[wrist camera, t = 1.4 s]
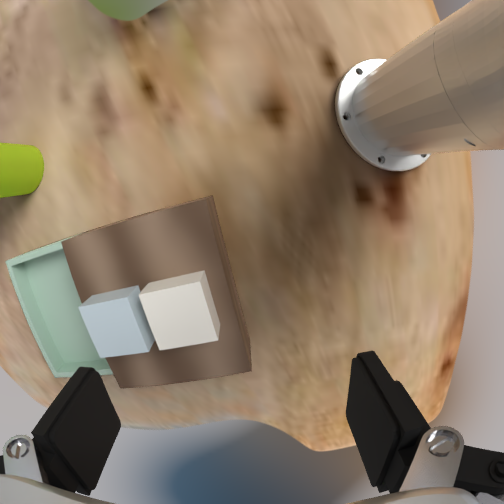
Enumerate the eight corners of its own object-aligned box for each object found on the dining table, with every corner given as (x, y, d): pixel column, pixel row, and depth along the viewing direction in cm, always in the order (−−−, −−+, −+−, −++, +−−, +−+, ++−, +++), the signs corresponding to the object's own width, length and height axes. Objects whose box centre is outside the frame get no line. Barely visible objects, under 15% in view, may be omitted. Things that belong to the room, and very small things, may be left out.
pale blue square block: (138, 285, 24) (127, 297, 22) (156, 336, 26) (148, 352, 23) (91, 295, 24) (78, 307, 22) (111, 342, 26) (100, 357, 23)
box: (88, 231, 29) (75, 236, 26) (135, 359, 33) (127, 372, 30) (19, 255, 29) (5, 261, 26) (64, 365, 33) (55, 377, 30)
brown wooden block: (212, 195, 29) (205, 199, 23) (249, 339, 33) (251, 371, 27) (89, 230, 29) (61, 241, 23) (136, 359, 33) (120, 388, 27)
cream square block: (204, 270, 24) (200, 281, 22) (220, 324, 25) (218, 340, 23) (148, 282, 24) (138, 294, 22) (166, 334, 26) (159, 350, 23)
